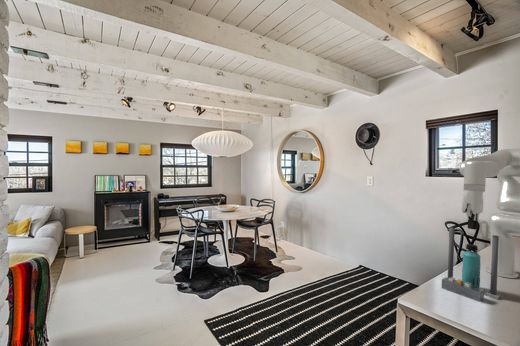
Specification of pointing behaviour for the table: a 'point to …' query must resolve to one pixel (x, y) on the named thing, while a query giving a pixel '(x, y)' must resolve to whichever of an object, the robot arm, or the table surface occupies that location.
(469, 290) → the pdu strip
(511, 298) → the table surface
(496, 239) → the cord post
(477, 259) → the beverage bottle
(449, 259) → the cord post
